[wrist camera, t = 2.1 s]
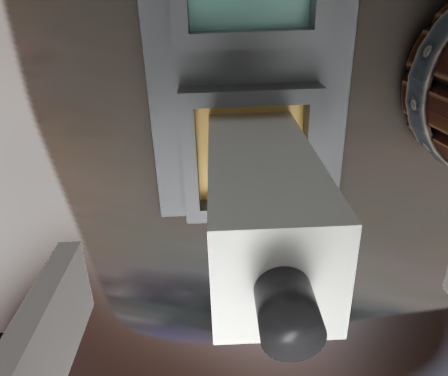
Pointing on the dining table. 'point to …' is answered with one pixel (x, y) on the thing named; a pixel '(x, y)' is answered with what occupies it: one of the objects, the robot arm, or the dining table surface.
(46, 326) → the robot arm
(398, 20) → the dining table surface
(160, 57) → the panel
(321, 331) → the plug
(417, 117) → the mug
